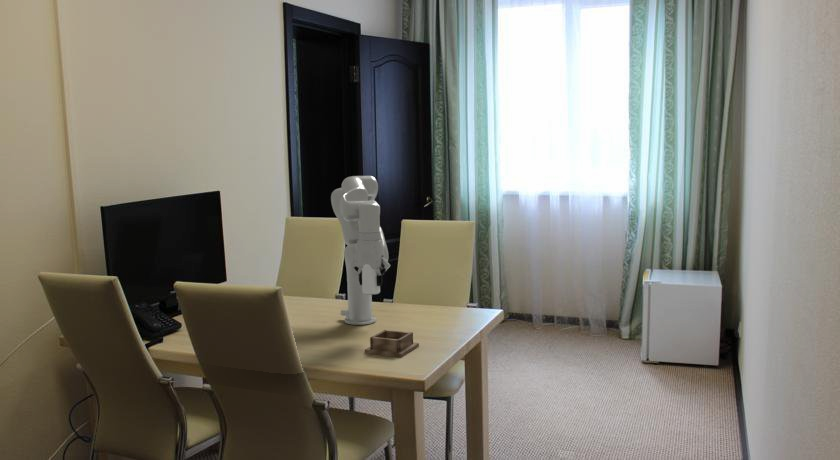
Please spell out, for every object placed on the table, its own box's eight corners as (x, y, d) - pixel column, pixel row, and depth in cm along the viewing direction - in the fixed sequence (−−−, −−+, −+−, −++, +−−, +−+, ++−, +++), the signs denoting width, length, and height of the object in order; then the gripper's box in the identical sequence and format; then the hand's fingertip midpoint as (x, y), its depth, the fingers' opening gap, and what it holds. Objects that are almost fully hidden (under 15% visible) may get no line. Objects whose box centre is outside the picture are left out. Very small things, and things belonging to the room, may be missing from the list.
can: (382, 291, 274) (381, 259, 273) (376, 295, 268) (375, 262, 267) (366, 290, 276) (365, 259, 275) (359, 294, 270) (358, 262, 269)
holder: (364, 353, 252) (364, 338, 251) (383, 342, 264) (382, 328, 264) (401, 357, 246) (401, 342, 245) (418, 346, 259) (418, 331, 258)
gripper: (343, 237, 270) (345, 285, 272) (386, 239, 263) (387, 288, 265) (354, 234, 277) (355, 281, 279) (395, 236, 270) (396, 284, 272)
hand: (371, 284), depth 272 cm, fingers closed on can, 6 cm apart
